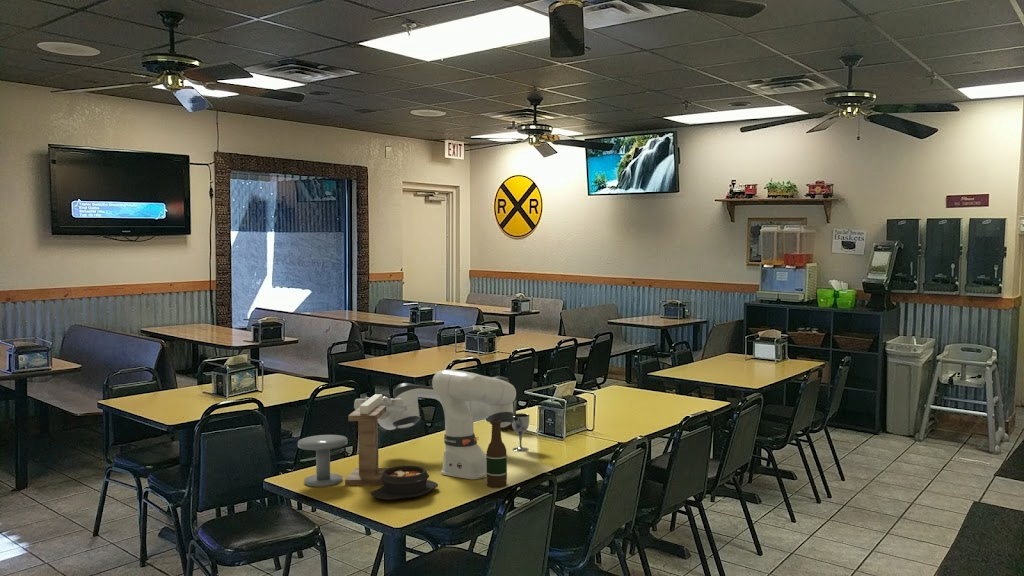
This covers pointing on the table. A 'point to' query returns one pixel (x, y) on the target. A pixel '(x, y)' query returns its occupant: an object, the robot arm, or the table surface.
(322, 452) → the cake stand
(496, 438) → the beer bottle
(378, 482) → the walnut stand
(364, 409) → the bar
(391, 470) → the casserole
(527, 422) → the wine glass
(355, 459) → the table surface
